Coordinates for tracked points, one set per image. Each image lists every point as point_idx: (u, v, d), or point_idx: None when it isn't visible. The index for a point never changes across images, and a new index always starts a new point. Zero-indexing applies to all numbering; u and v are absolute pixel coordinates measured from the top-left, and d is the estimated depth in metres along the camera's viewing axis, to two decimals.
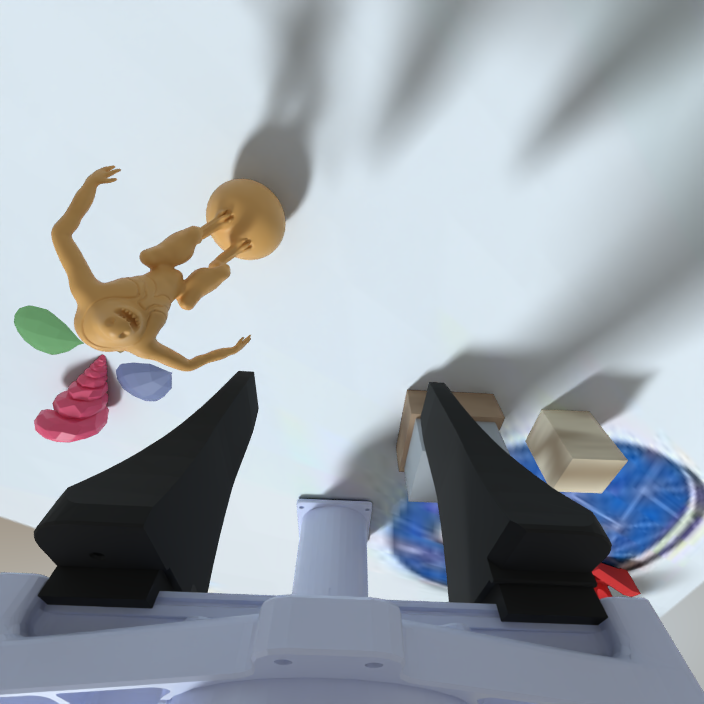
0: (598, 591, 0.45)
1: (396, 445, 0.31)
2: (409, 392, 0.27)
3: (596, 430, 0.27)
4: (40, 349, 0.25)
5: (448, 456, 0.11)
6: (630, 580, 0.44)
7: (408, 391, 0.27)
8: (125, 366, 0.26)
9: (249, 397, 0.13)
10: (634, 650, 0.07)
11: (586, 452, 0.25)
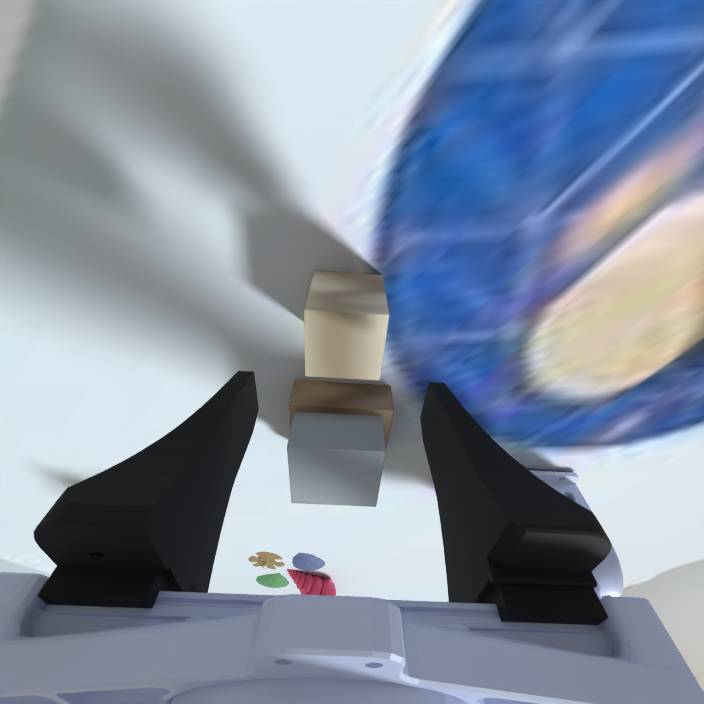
0: None
1: None
2: None
3: None
4: (284, 585, 0.45)
5: (448, 456, 0.11)
6: None
7: None
8: (294, 565, 0.41)
9: (249, 397, 0.13)
10: (633, 650, 0.07)
11: None
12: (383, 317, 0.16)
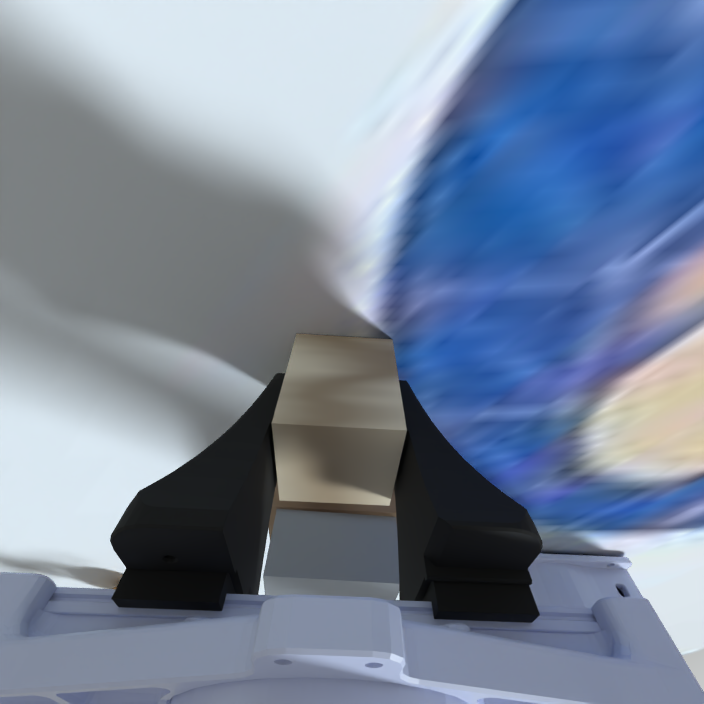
0: None
1: None
2: None
3: None
4: None
5: (402, 454, 0.11)
6: None
7: None
8: None
9: None
10: (633, 650, 0.07)
11: None
12: (397, 433, 0.10)
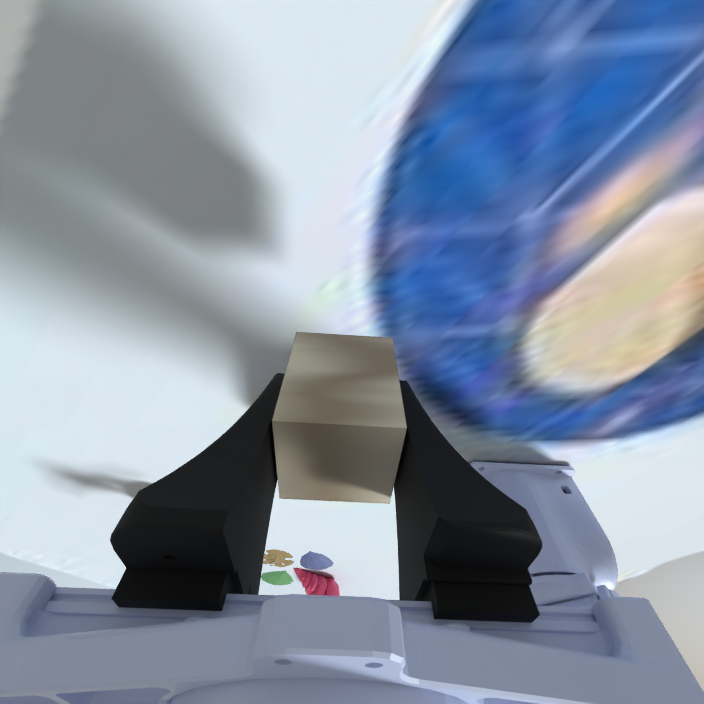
0: None
1: None
2: None
3: None
4: (288, 583, 0.46)
5: (402, 454, 0.11)
6: None
7: None
8: (302, 565, 0.42)
9: None
10: (633, 650, 0.07)
11: None
12: (397, 431, 0.10)
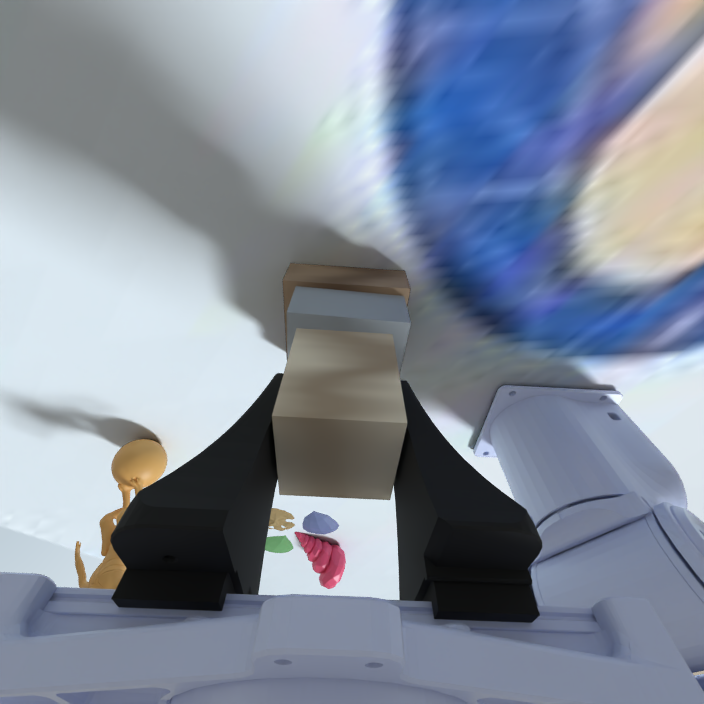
0: None
1: None
2: None
3: None
4: (288, 550, 0.41)
5: (402, 454, 0.11)
6: None
7: None
8: (305, 527, 0.38)
9: None
10: (633, 650, 0.07)
11: None
12: (398, 426, 0.10)
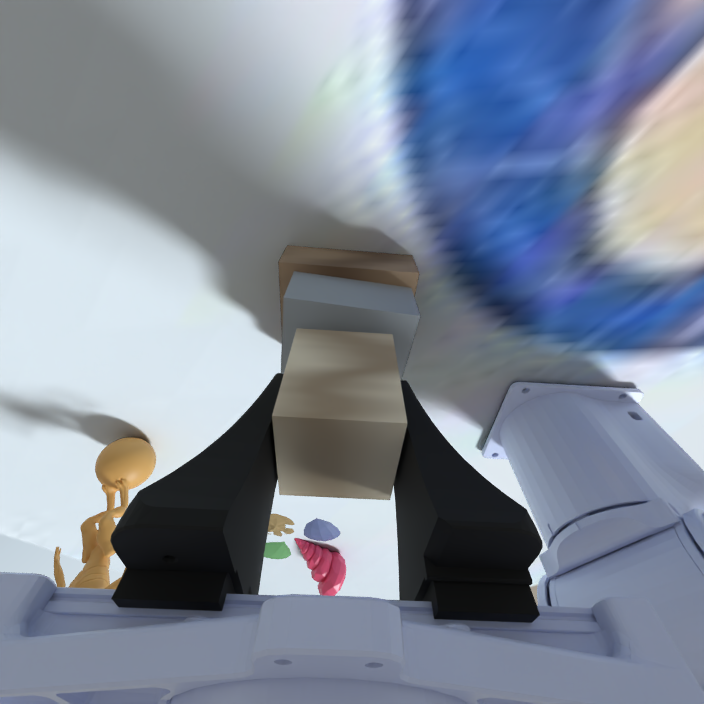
0: None
1: None
2: None
3: None
4: (285, 557, 0.40)
5: (402, 454, 0.11)
6: None
7: None
8: (305, 534, 0.37)
9: None
10: (633, 650, 0.07)
11: None
12: (398, 426, 0.10)
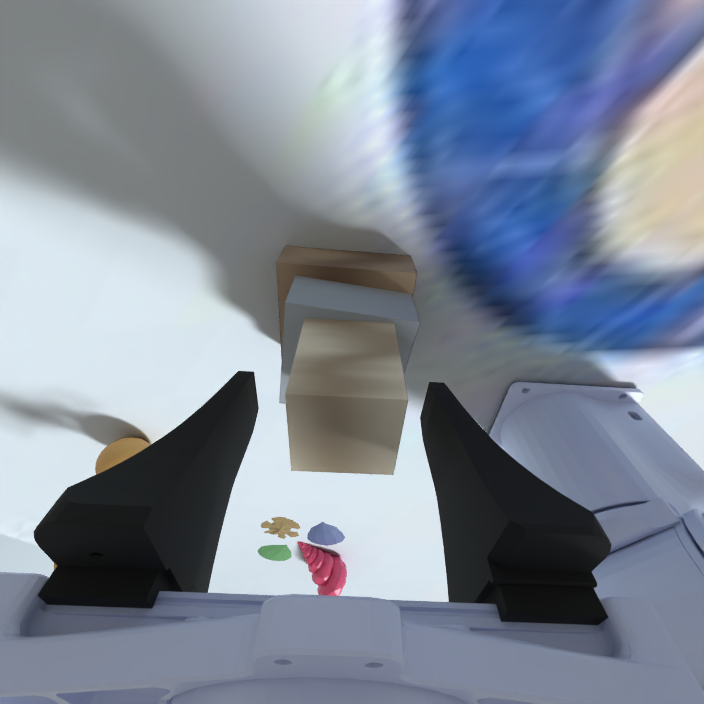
0: None
1: None
2: None
3: None
4: (286, 559, 0.40)
5: (448, 456, 0.11)
6: None
7: None
8: (309, 538, 0.37)
9: (249, 397, 0.13)
10: (633, 650, 0.07)
11: None
12: (400, 402, 0.11)
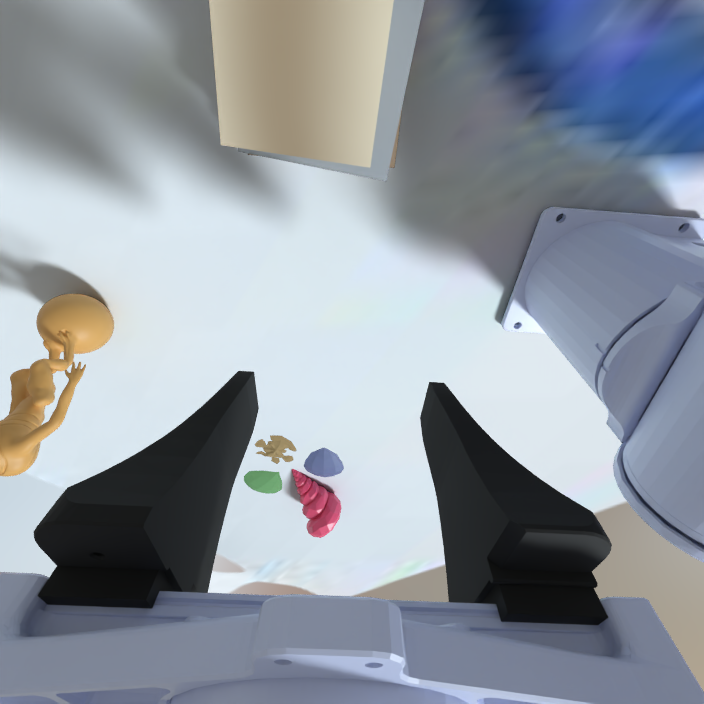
0: None
1: None
2: None
3: None
4: (274, 491, 0.36)
5: (448, 456, 0.11)
6: None
7: None
8: (305, 465, 0.34)
9: (249, 397, 0.13)
10: (633, 650, 0.07)
11: None
12: None
